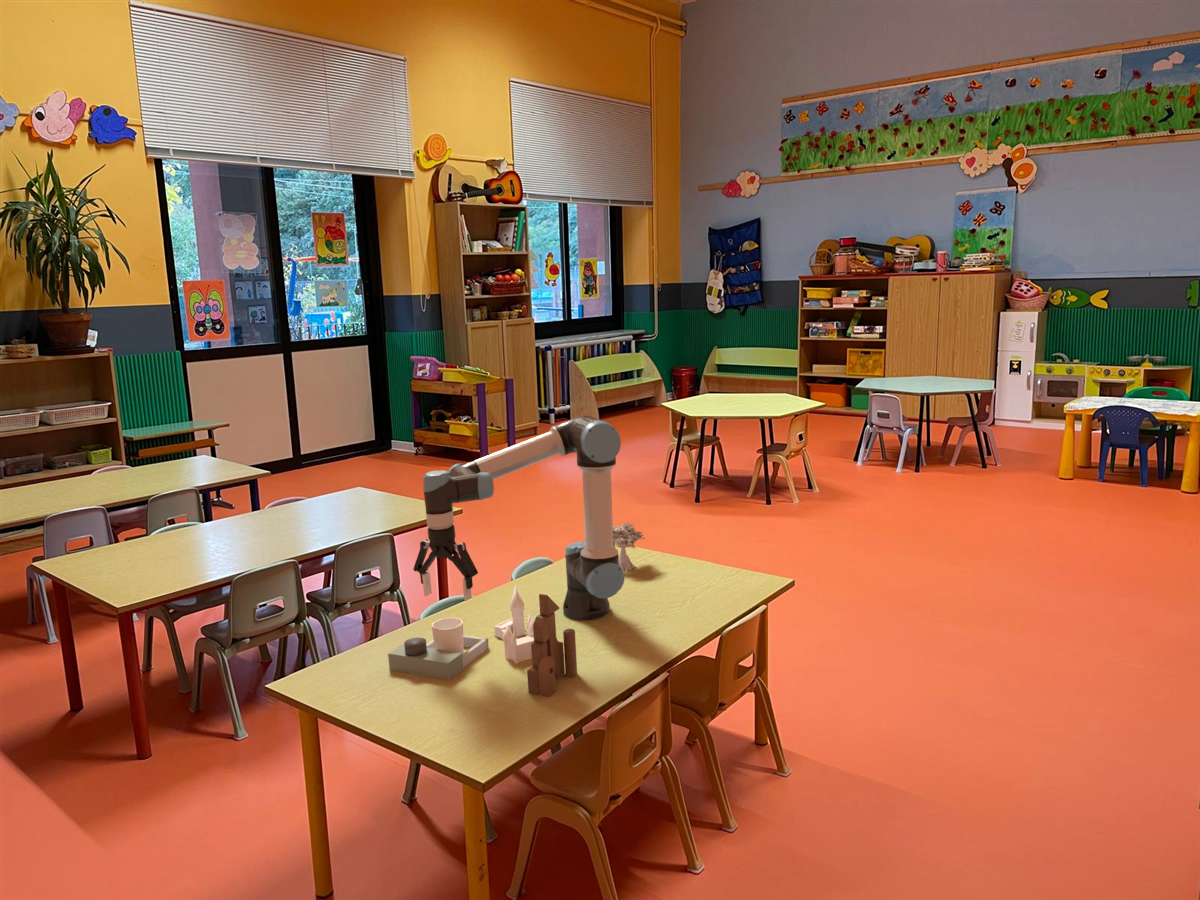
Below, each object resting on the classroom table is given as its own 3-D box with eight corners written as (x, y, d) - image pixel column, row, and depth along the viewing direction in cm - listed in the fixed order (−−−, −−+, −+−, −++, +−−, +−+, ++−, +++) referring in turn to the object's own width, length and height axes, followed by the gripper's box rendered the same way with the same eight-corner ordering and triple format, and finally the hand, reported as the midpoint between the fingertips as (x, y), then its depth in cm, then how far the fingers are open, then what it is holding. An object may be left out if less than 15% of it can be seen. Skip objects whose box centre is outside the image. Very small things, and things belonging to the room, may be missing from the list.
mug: (454, 665, 251) (451, 631, 249) (428, 661, 255) (425, 627, 253) (475, 650, 261) (472, 617, 259) (450, 646, 265) (447, 613, 263)
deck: (490, 648, 262) (489, 622, 260) (449, 680, 242) (447, 652, 240) (434, 639, 270) (432, 615, 268) (389, 670, 250) (387, 643, 248)
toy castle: (518, 625, 278) (515, 576, 275) (557, 652, 257) (554, 599, 254) (476, 637, 271) (472, 587, 268) (512, 665, 250) (508, 611, 247)
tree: (631, 577, 317) (629, 533, 313) (593, 572, 325) (590, 528, 321) (654, 563, 332) (652, 520, 328) (617, 557, 340) (615, 516, 337)
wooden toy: (549, 697, 230) (544, 606, 225) (528, 692, 233) (522, 602, 228) (579, 673, 243) (574, 586, 238) (558, 669, 246) (553, 583, 241)
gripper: (485, 524, 249) (492, 596, 253) (412, 519, 259) (419, 588, 263) (471, 532, 242) (478, 605, 246) (396, 526, 252) (404, 597, 256)
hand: (447, 596), depth 255 cm, fingers open, 13 cm apart
